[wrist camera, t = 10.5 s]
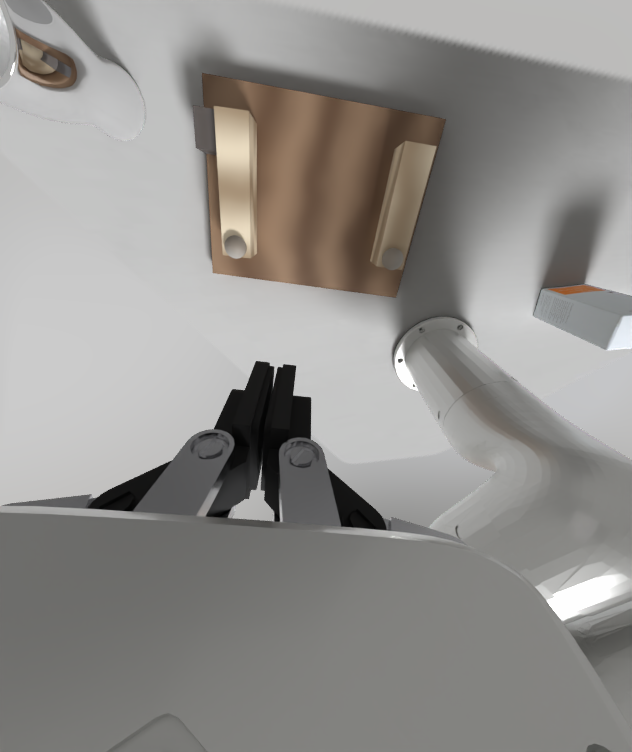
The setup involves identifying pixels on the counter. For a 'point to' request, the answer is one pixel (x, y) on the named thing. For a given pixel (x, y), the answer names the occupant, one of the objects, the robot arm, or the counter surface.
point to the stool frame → (324, 185)
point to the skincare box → (589, 314)
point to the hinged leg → (237, 180)
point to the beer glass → (63, 74)
